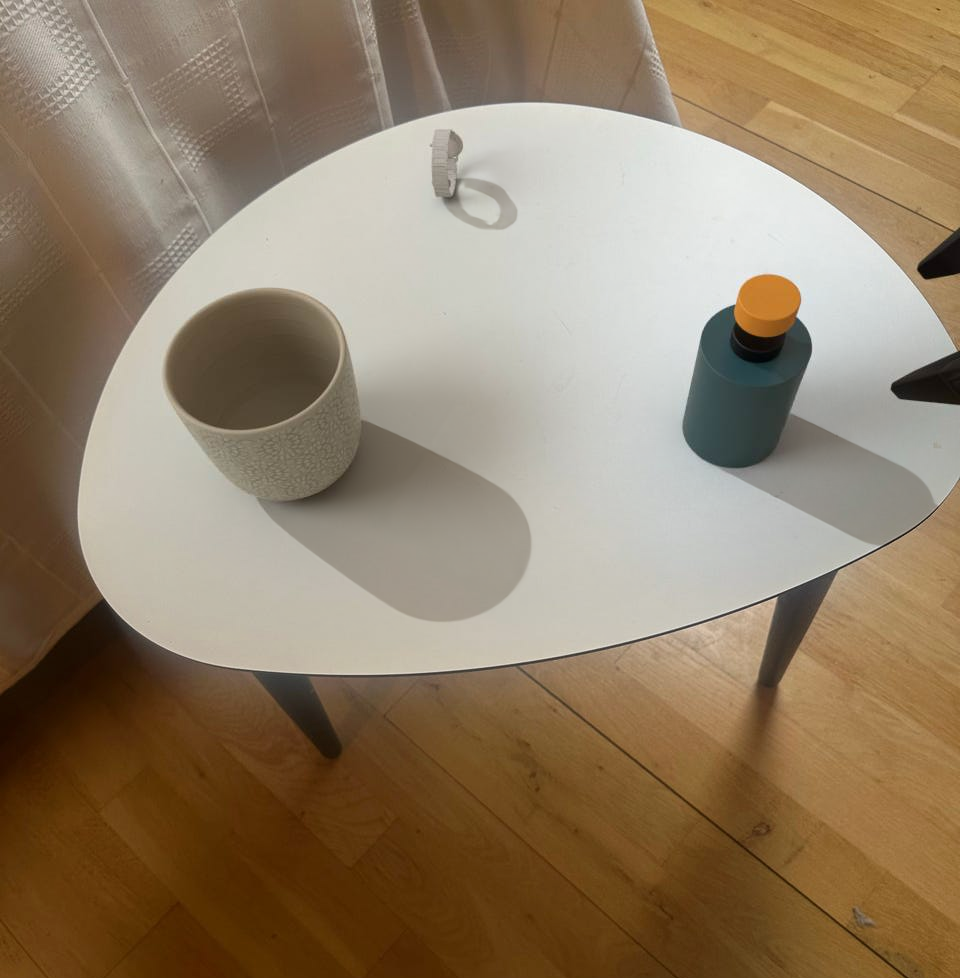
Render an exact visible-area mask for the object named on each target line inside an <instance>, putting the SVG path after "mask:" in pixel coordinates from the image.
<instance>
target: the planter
mask: <svg viewBox="0 0 960 978" xmlns="http://www.w3.org/2000/svg"><path fill="white" fill-rule="evenodd" d="M353 365H354V364H353V360H352V357H351V351H350V348H349V345H348V342H347V338H346V335H345V332H344V329H343V326H342V325H341V323H340V321H339V319H338V318H337V316H336V315H335V314H334V313H333V311H331V309H329V308H328V307H327V306H326V305H325V304H324V303H323V302H321V301H320V300H317V299H316V298H314V297H312V296H311V295H309V294H307V293H303V292H301V291H297V290H293V289H289V288H283V287H257V288H249V289H244V290H240V291H236V292H233V293H230V294H227V295H225V296H222V297H220V298H217V299H216V300H214V301H212V302H210V303H208V304H207V305H205V306H203V307H202V308H200V309H199V310H197V311H195V313H193V315H191V316H190V317H189V318H188V319H186V321H185V322H184V323H183V324H182V325H181V326H180V327H179V328H178V330H177V331H176V332H175V334H174V335H173V337H172V339H171V341H170V342H169V344H168V345H167V349H166V351H165V354H164V357H163V361H162V368H161V369H162V370H161V371H162V372H161V378H162V379H161V380H162V385H163V389H164V393H165V395H166V397H167V399H168V401H169V403H170V405H171V406H172V409H173V410H174V412H175V414H176V415H177V417H178V418H179V419H180V421H181V423H182V424H183V425H184V427H185V429H186V430H187V431H188V433H189V434H190V436H191V437H192V438H193V440H195V442H196V443H197V445H198V446H199V447H200V448H201V450H202V451H203V452H204V454H205V455H206V457H207V458H208V459H209V460H210V462H211V463H212V464H213V465H214V466H215V468H216V469H217V470H218V471H219V472H220V473H221V474H222V476H224V477H225V478H226V480H228V481H229V482H230V484H232V485H233V486H235V487H236V488H238V489H240V490H241V491H243V492H245V493H246V494H248V495H250V496H254V497H256V498H259V499H263V500H269V501H276V502H277V501H278V502H280V501H281V502H285V501H286V502H287V501H295V500H296V501H297V500H301V499H305V498H307V497H311V496H313V495H316V494H318V493H320V492H322V491H324V490H325V489H327V488H329V487H330V486H331V485H333V484H334V483H335V482H336V481H337V480H339V479H340V478H341V477H342V476H343V474H344V473H345V472H346V471H347V470H348V468H349V467H350V465H351V464H352V462H353V460H354V458H355V456H356V454H357V452H358V449H359V445H360V440H361V435H362V418H361V406H360V400H359V393H358V387H357V382H356V381H357V380H356V375H355V371H354V366H353Z"/></svg>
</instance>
